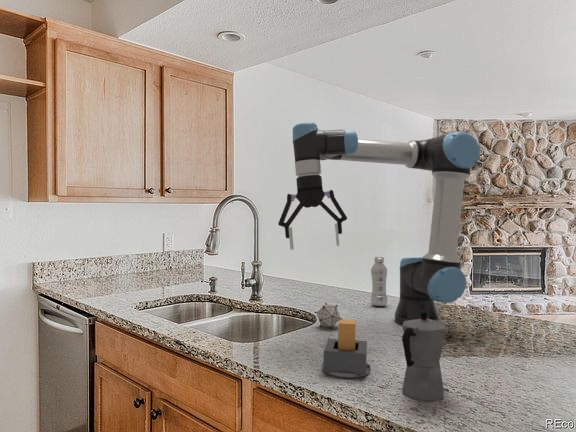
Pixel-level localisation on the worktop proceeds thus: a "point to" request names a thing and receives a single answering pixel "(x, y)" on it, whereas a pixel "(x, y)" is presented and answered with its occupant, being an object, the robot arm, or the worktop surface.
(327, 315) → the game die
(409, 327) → the coffeepot
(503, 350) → the worktop surface
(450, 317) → the worktop surface
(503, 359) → the worktop surface
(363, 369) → the socket collar
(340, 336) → the orange rectangular block
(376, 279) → the plastic bottle
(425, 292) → the robot arm
